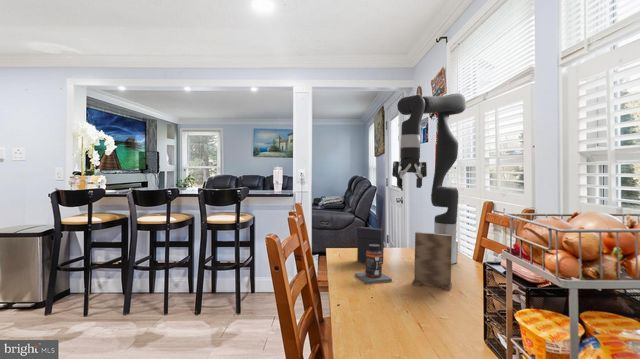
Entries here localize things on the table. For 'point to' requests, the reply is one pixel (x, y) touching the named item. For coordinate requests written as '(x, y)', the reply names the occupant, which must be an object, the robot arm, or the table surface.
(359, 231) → the dark gray upright block
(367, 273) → the supplement bottle
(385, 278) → the pad
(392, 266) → the table surface
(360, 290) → the table surface
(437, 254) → the screen
